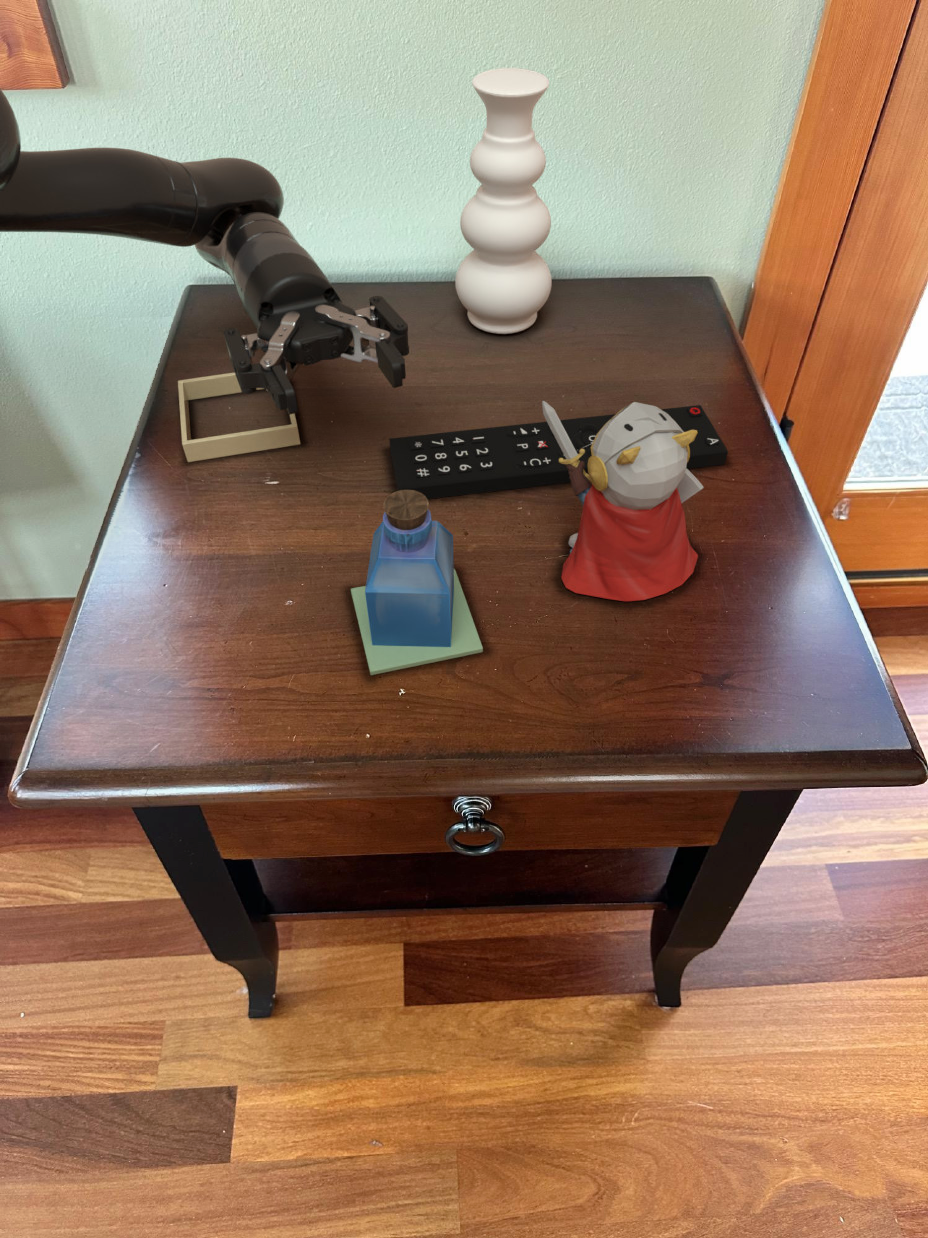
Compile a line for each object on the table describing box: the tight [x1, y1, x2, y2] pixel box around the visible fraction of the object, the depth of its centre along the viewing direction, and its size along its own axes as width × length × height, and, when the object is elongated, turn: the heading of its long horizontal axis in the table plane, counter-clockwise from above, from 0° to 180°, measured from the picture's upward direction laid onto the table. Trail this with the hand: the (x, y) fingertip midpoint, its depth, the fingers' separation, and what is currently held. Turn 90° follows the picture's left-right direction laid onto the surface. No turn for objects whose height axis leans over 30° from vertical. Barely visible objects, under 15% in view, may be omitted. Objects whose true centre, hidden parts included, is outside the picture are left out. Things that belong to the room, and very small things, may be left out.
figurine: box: [541, 400, 704, 603], centre depth 67 cm, size 13×12×15 cm
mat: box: [350, 568, 484, 676], centre depth 68 cm, size 9×9×1 cm
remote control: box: [388, 404, 729, 500], centre depth 81 cm, size 8×32×2 cm, turn 100°
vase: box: [454, 67, 553, 335], centre depth 89 cm, size 11×11×25 cm
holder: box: [177, 371, 301, 463], centre depth 85 cm, size 11×11×2 cm
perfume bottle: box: [365, 490, 455, 647], centre depth 63 cm, size 6×6×12 cm
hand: (346, 390), depth 64 cm, fingers open, 8 cm apart
